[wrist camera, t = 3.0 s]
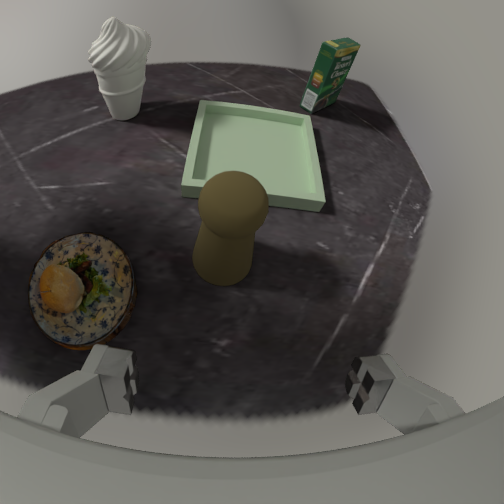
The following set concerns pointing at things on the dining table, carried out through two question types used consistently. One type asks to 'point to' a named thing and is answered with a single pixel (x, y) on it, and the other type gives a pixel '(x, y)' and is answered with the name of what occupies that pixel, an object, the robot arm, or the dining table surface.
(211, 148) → the tray
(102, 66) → the soft serve ice cream cone
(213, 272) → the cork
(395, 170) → the dining table surface
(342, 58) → the coffee box
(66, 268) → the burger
